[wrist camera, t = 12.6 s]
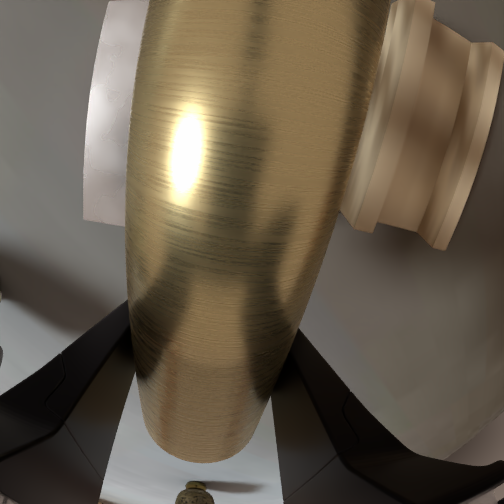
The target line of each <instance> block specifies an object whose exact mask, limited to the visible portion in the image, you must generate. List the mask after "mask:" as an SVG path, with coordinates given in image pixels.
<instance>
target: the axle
mask: <svg viewBox="0 0 504 504" xmlns="http://www.w3.org/2000/svg"><path fill="white" fill-rule="evenodd" d="M390 2H391V0H150V1H149V5H148V9H147V14H146V18H145V23H144V28H143V33H142V38H141V43H140V49H139V55H138V61H137V67H136V74H135V81H134V88H133V96H132V104H131V113H130V124H129V135H128V148H127V165H126V189H125V253H126V277H127V294H128V307H129V319H130V329H131V339H132V347H133V356H134V363H135V370H136V377H137V384H138V390H139V396H140V402H141V408H142V413H143V418H144V423H145V426H146V428H147V431H148V433H149V434H150V436H151V437H152V439H153V440H154V441H155V442H156V443H157V445H158V446H160V447H161V448H162V449H163V450H165V451H166V452H168V453H169V454H171V455H173V456H175V457H177V458H179V459H182V460H185V461H190V462H195V463H212V462H218V461H222V460H225V459H228V458H230V457H232V456H234V455H235V454H237V453H239V452H240V451H241V450H242V449H243V448H244V447H245V446H246V445H247V444H248V443H249V441H250V440H251V438H252V436H253V434H254V432H255V429H256V427H257V425H258V423H259V421H260V418H261V416H262V414H263V412H264V410H265V407H266V405H267V403H268V400H269V398H270V396H271V394H272V391H273V389H274V387H275V384H276V382H277V380H278V377H279V375H280V372H281V370H282V368H283V365H284V363H285V360H286V358H287V355H288V353H289V350H290V348H291V345H292V343H293V340H294V338H295V335H296V333H297V330H298V328H299V325H300V322H301V320H302V317H303V314H304V312H305V309H306V306H307V304H308V301H309V298H310V296H311V293H312V290H313V287H314V285H315V282H316V279H317V276H318V273H319V271H320V268H321V265H322V262H323V259H324V256H325V253H326V250H327V247H328V244H329V241H330V238H331V235H332V232H333V229H334V226H335V223H336V220H337V217H338V213H339V210H340V207H341V204H342V201H343V197H344V194H345V191H346V187H347V184H348V181H349V177H350V174H351V170H352V167H353V163H354V160H355V156H356V153H357V149H358V146H359V142H360V138H361V134H362V131H363V127H364V123H365V119H366V115H367V111H368V107H369V103H370V99H371V95H372V91H373V86H374V82H375V78H376V73H377V69H378V64H379V59H380V55H381V50H382V45H383V40H384V35H385V30H386V24H387V19H388V13H389V7H390Z"/></svg>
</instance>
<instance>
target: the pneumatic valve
mask: <svg viewBox="0 0 504 504" xmlns="http://www.w3.org/2000/svg"><path fill="white" fill-rule="evenodd" d="M1 299H2V293H1V291H0V302H1ZM2 358H3V350H2V347H1V346H0V366H1V363H2Z"/></svg>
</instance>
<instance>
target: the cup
mask: <svg viewBox="0 0 504 504" xmlns="http://www.w3.org/2000/svg"><path fill="white" fill-rule="evenodd" d="M185 487H186V489H185V490H183V491H181V492H180V493H179V494H178V496H177V499H176V502H175V504H214V500H213V497H212V496H211V495H210V494H209V493H208V492H206V489H207V487H206V485H205V484H204V483H201V482H195V481H192V482H188V483H187V484H186V486H185Z"/></svg>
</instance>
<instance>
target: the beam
mask: <svg viewBox="0 0 504 504" xmlns="http://www.w3.org/2000/svg"><path fill="white" fill-rule="evenodd" d="M434 7H435V3H434V2H433V1H431V0H398V1H396V2H394V3H392V4H391V8H390V13H389V18H388V23H387V28H386V33H385V38H384V42H383V47H382V51H381V55H380V60H379V64H378V69H377V73H376V78H375V82H374V86H373V91H372V95H371V99H370V103H369V107H368V111H367V115H366V119H365V123H364V127H363V131H362V134H361V138H360V142H359V146H358V149H357V153H356V156H355V160H354V163H353V167H352V170H351V174H350V177H349V181H348V184H347V187H346V191H345V194H344V197H343V201H342V204H341V207H340V211H341V212H342V214H343V215H344V216H345V218H346V219H347V220H348V222H349V223H350V225H351V226H352V227H353V229H356V230H360V231H365V232H369V233H373V231H374V228H375V225H376V223H377V222H380V223H384V224H388V225H391V226H395V227H399V228H403V229H407V230H411V231H414V232H417V233H418V234H419V235H420V236H421V237H422V238H423V239H424V240H425V241H426V242H427V243H428V244H429V245H430V246H431V247H432V248H436V249H440V250H443V251H445V250H446V248H447V246H448V244H449V241H450V239H451V237H452V235H453V232H454V230H455V228H456V225H457V223H458V221H459V218H460V216H461V213H462V211H463V208H464V206H465V203H466V200H467V198H468V195H469V192H470V190H471V187H472V184H473V181H474V179H475V176H476V173H477V170H478V167H479V164H480V160H481V157H482V154H483V151H484V147H485V144H486V140H487V137H488V133H489V129H490V125H491V122H492V117H493V113H494V109H495V105H496V100H497V95H498V90H499V85H500V79H501V74H502V67H503V61H504V51H503V50H502V49H500V48H499V47H498V46H497V45H495V44H494V43H493V42H482V43H471V42H469V41H468V40H466V39H465V38H463V37H462V36H460V35H459V34H457V33H456V32H454V31H453V30H451V29H450V28H448V27H446V26H445V25H443V24H441V23H440V22H438V21H436V20H435V19H433V14H434Z"/></svg>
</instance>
